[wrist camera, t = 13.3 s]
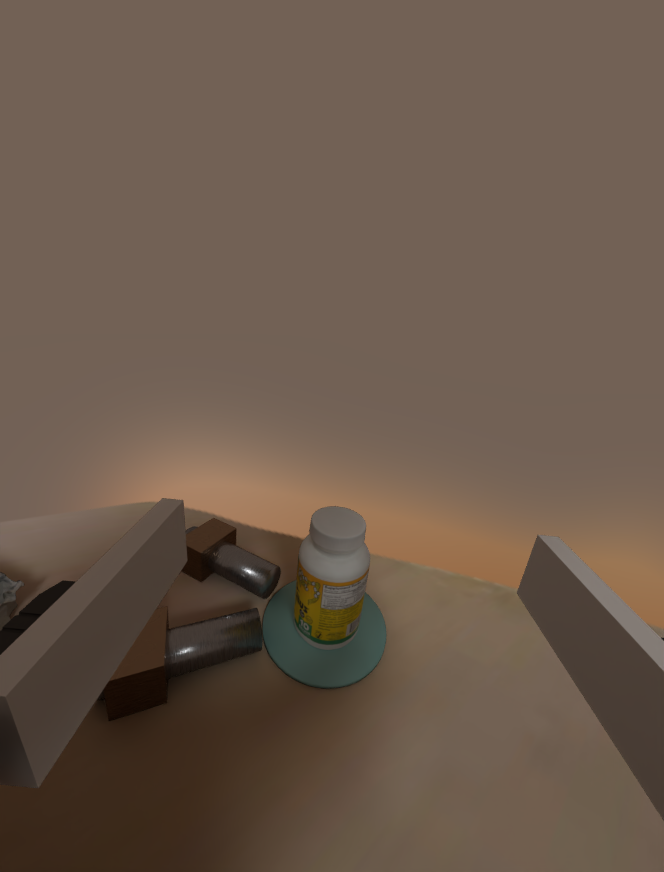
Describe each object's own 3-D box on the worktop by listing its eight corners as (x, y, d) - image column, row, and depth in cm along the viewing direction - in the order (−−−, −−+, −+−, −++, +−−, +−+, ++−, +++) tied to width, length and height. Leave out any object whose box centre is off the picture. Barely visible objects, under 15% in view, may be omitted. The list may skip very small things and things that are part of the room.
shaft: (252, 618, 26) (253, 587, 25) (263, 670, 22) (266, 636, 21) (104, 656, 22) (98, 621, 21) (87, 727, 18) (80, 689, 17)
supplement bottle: (365, 650, 24) (386, 544, 21) (294, 656, 23) (305, 546, 20) (350, 593, 29) (365, 501, 26) (291, 596, 28) (299, 500, 25)
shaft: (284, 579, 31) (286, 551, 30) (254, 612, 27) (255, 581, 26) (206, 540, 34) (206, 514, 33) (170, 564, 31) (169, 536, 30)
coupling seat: (378, 584, 31) (379, 582, 31) (394, 696, 22) (395, 693, 22) (276, 572, 31) (276, 570, 31) (247, 679, 22) (247, 676, 22)
